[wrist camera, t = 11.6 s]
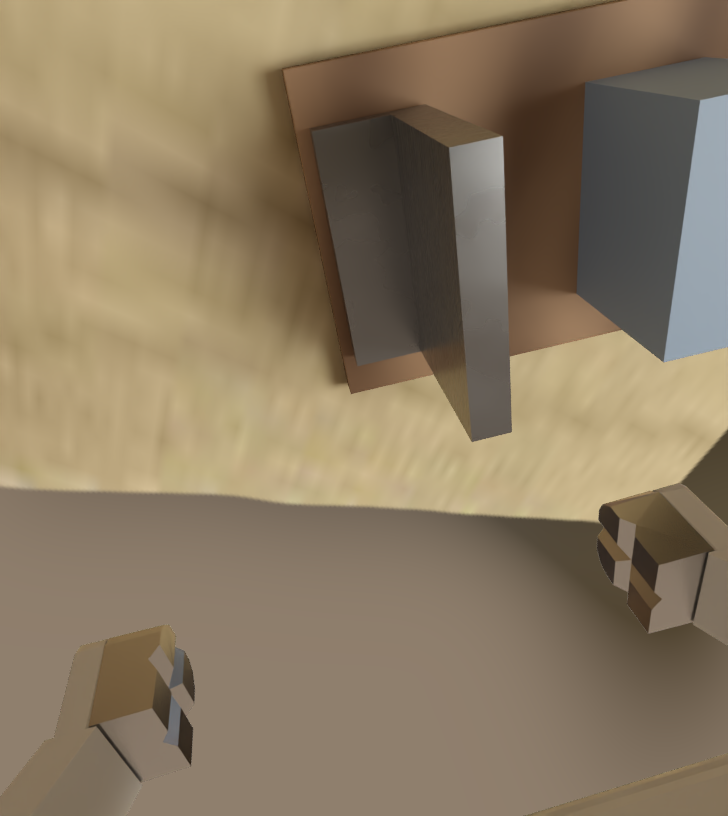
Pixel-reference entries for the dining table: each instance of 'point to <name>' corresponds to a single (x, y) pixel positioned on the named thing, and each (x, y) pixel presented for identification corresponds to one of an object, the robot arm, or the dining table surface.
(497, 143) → the bookend
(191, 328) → the dining table surface
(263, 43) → the dining table surface
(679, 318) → the book
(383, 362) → the shelf
